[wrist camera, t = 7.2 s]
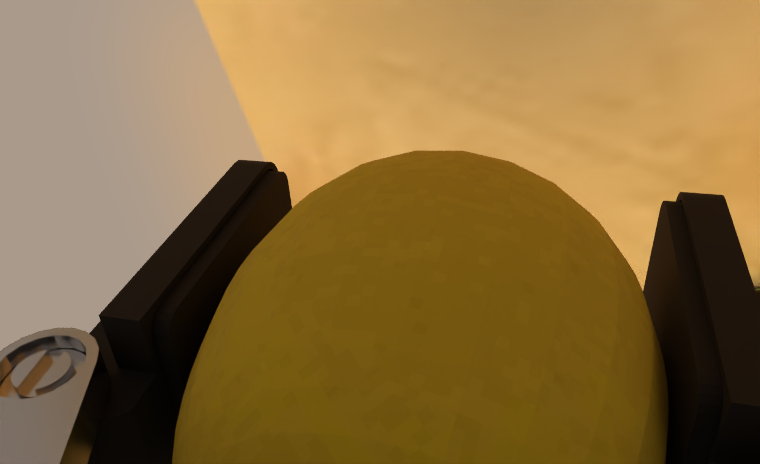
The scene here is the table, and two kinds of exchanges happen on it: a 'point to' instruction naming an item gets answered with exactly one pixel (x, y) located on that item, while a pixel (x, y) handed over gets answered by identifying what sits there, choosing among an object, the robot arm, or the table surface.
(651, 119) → the table surface
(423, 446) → the lemon
